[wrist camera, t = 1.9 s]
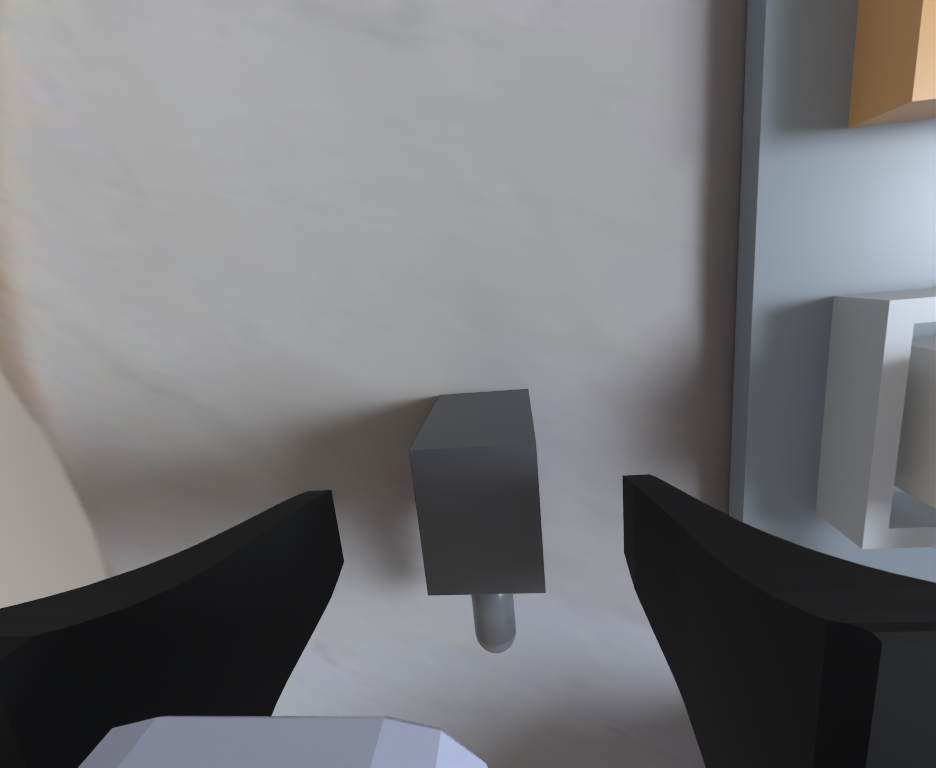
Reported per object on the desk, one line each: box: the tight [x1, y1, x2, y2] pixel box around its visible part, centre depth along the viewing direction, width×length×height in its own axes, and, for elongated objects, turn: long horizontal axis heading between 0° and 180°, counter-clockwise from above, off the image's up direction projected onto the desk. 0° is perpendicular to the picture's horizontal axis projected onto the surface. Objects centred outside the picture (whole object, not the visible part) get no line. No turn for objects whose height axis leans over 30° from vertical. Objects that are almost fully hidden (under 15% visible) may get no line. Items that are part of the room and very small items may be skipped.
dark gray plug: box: [409, 389, 546, 653], centre depth 14 cm, size 7×3×5 cm, turn 5°
